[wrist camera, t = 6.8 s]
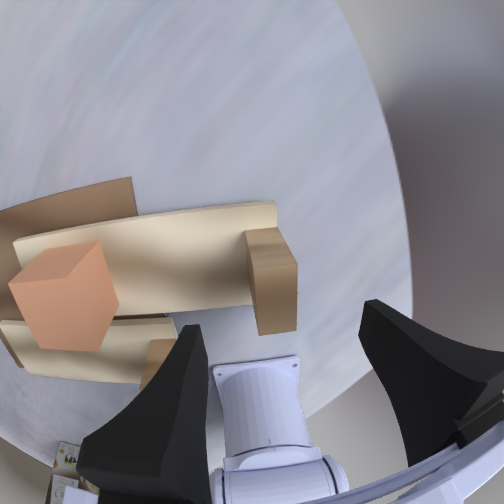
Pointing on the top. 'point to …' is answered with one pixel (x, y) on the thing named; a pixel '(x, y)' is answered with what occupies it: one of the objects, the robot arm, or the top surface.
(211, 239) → the slat
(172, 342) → the empty slat
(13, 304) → the board
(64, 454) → the coffee box
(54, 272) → the block
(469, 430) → the robot arm
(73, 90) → the top surface
